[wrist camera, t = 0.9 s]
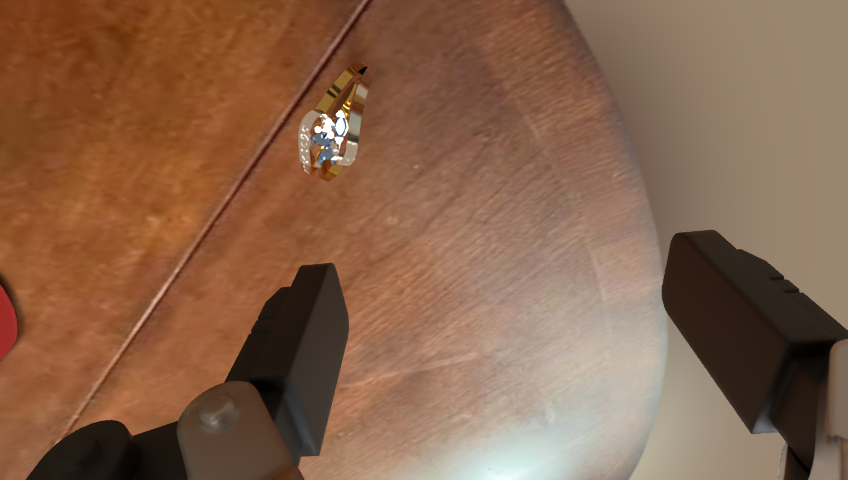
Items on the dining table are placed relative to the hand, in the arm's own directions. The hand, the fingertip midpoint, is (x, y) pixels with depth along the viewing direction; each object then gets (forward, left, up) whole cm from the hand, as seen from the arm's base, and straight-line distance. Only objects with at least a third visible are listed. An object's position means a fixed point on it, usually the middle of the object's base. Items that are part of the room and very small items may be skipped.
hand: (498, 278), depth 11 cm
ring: (+5, -5, -21) cm, 22 cm away
